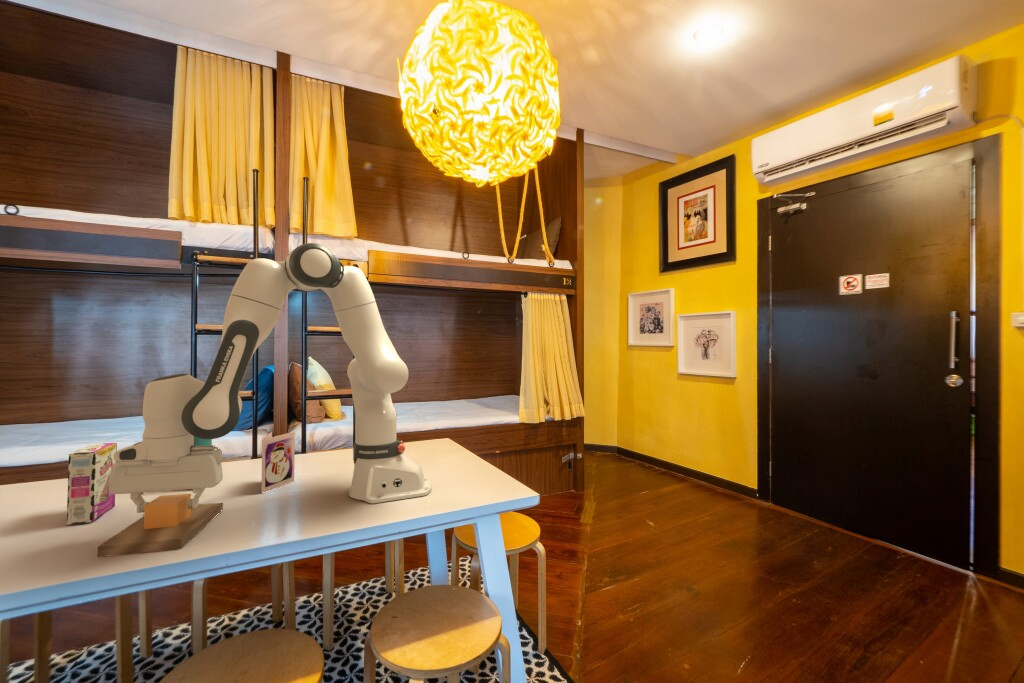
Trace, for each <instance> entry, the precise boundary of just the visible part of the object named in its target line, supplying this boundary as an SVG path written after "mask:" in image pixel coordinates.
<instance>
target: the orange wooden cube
mask: <svg viewBox="0 0 1024 683" xmlns="http://www.w3.org/2000/svg"><path fill="white" fill-rule="evenodd" d="M190 499H192V493H180V494H167V495H159V496H158V497H156V498H154V499H152V500H151V501H148V502H149V503H148V504H146V505H144V512H143V516H144V529H152V528H163V527H174V526H178V525H179V524H180V523H182V522H183V521H184V520H185V519H187V518H188V517H189V516H190V515H191V509H188V508H187V506H188V505H187V501H189V500H190Z"/></svg>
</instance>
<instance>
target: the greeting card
mask: <svg viewBox="0 0 1024 683" xmlns="http://www.w3.org/2000/svg"><path fill="white" fill-rule="evenodd" d="M295 434H296V432H295V431H291V432H287V433H284V434H283V433H282V434H280V435H275V436H273V431H271V432H270V433H268V434H267V435H265V437H263V438H262V439H261V494H262V493H263V492H265V493H267V492H266V491H268V492H270V491H272V489H273V490H275V489H274V488H276V489H277V487H278V488H280V486H281V487H283V486H286V485H288V484H290V483H293V482H295V446H296V445H295V442H296V441H295V437H296V436H295ZM285 484H286V485H285ZM282 485H283V486H282ZM269 490H270V491H269ZM263 494H264V493H263Z"/></svg>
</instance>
